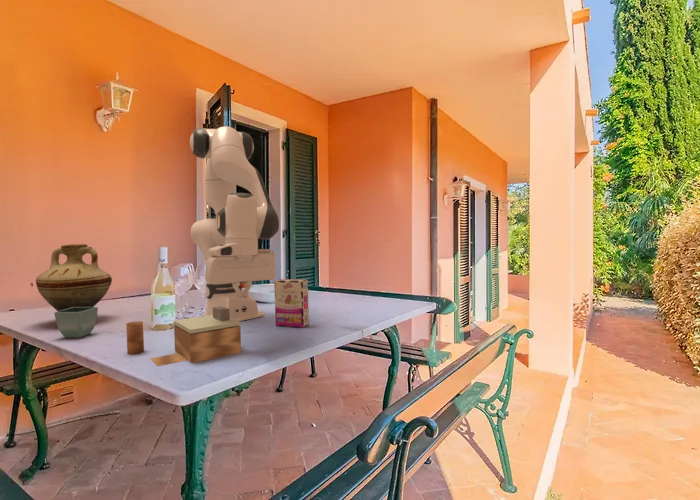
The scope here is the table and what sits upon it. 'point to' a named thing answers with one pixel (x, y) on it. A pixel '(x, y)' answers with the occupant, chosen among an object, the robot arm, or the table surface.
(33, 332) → the table surface
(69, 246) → the amphora
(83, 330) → the flower pot
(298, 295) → the candy bar box
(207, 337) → the crate
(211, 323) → the lid
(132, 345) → the brown wooden cylinder
